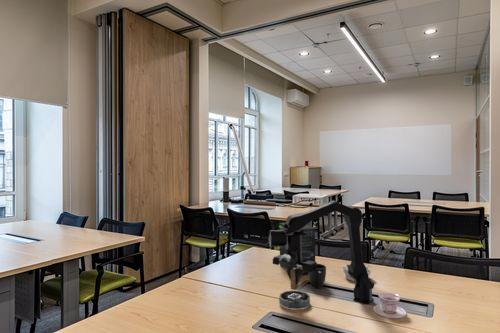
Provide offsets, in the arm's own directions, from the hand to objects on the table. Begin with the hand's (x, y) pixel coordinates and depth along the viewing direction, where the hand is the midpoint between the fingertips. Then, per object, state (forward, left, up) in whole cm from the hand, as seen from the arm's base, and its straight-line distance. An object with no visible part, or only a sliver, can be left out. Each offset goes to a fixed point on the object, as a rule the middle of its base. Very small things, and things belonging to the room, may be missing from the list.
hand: (294, 283), depth 140 cm
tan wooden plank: (0, 0, -2) cm, 2 cm away
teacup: (-33, -16, -9) cm, 38 cm away
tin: (0, 0, -8) cm, 8 cm away
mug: (+1, -22, -9) cm, 24 cm away
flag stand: (-8, -46, -9) cm, 47 cm away
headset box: (+24, -41, -9) cm, 48 cm away
